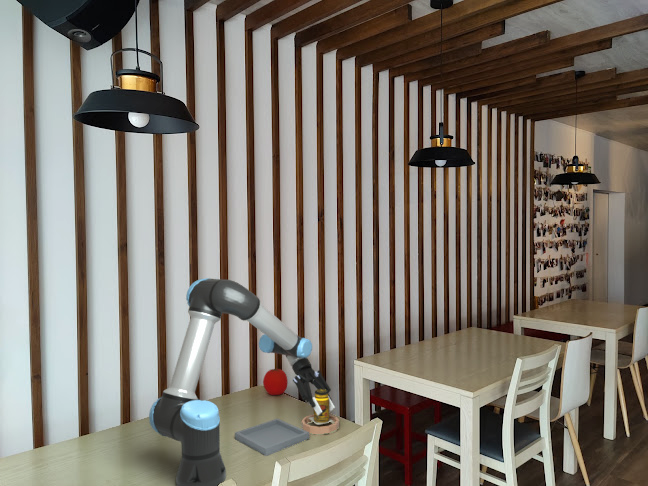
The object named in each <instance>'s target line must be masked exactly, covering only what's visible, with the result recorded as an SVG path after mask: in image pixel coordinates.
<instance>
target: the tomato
mask: <svg viewBox="0 0 648 486" xmlns="http://www.w3.org/2000/svg"><path fill="white" fill-rule="evenodd" d="M262 385H263V388H264V389H265V392H266V393H267V394H268V395H270V396H279V395H282V394H284V393H285V391H286V390H287V388H288V376H287V373H286V372H285V371H284V370H283V369H280V368H272V369H268V371H266V373H265V374H264V376H263V381H262Z"/></svg>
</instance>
